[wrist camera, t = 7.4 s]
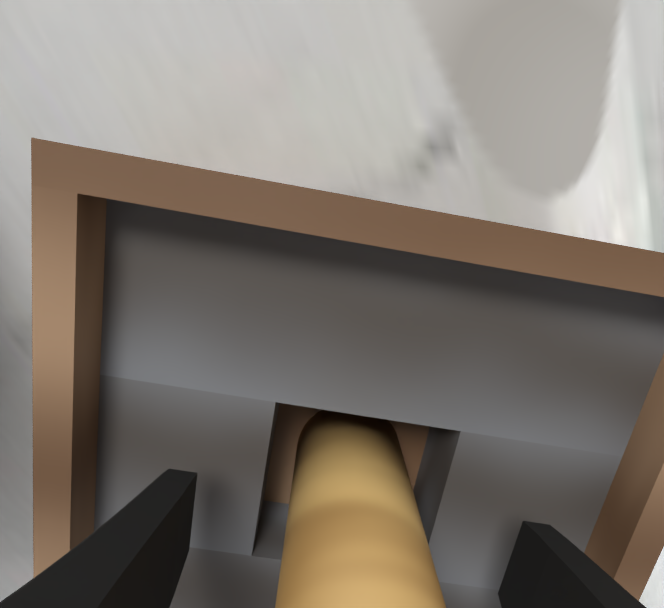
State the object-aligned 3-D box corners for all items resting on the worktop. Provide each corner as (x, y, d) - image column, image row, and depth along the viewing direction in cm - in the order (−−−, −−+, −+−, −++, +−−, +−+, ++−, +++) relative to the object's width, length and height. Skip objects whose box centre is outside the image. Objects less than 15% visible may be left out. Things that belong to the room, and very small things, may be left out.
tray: (499, 626, 15) (558, 775, 11) (114, 574, 14) (34, 713, 10) (634, 250, 12) (786, 275, 8) (137, 159, 11) (30, 137, 7)
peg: (390, 498, 12) (489, 990, 5) (291, 487, 12) (226, 974, 5) (407, 409, 12) (557, 818, 4) (302, 397, 12) (246, 795, 4)
